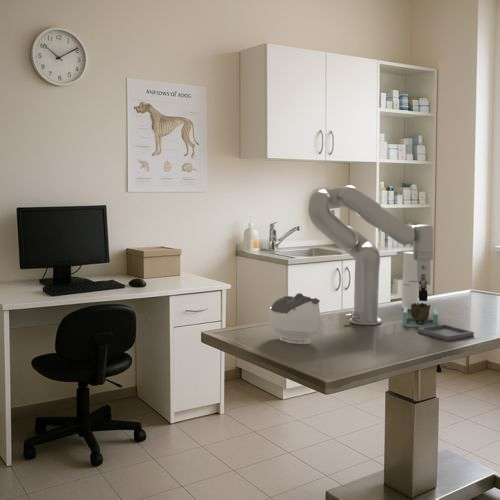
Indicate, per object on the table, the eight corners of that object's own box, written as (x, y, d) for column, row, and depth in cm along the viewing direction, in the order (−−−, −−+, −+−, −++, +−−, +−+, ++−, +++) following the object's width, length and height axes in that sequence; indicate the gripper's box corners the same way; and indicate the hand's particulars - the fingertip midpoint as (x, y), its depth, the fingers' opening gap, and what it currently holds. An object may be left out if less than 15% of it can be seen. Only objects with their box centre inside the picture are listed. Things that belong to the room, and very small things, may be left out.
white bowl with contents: (328, 342, 216) (285, 332, 230) (329, 294, 214) (286, 287, 228) (305, 349, 207) (262, 338, 220) (306, 299, 205) (262, 292, 218)
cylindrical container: (418, 309, 271) (420, 253, 268) (401, 308, 272) (403, 253, 270) (417, 306, 278) (419, 252, 275) (401, 305, 279) (403, 251, 276)
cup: (406, 322, 246) (407, 303, 245) (421, 321, 249) (421, 301, 248) (418, 326, 239) (419, 306, 238) (433, 325, 242) (434, 305, 241)
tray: (446, 341, 218) (446, 336, 218) (418, 332, 230) (418, 328, 230) (473, 336, 225) (473, 331, 225) (444, 328, 237) (444, 324, 237)
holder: (437, 328, 237) (437, 314, 236) (402, 326, 240) (403, 312, 240) (436, 321, 248) (436, 308, 248) (403, 319, 252) (403, 306, 251)
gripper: (433, 258, 232) (433, 303, 234) (432, 253, 248) (432, 294, 250) (413, 258, 234) (413, 302, 236) (413, 253, 250) (413, 294, 252)
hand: (423, 298), depth 243 cm, fingers open, 9 cm apart
